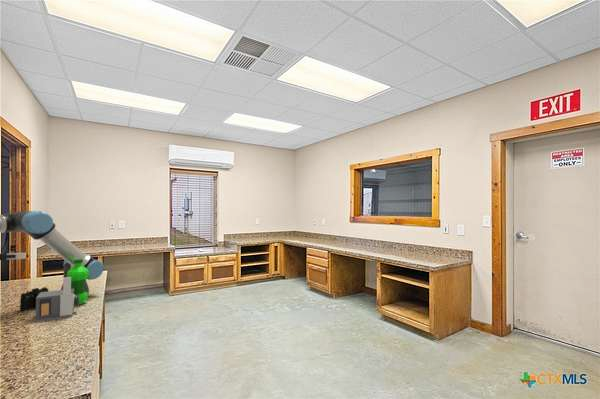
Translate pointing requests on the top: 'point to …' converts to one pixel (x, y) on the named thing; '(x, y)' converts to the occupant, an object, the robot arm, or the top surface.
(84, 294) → the plastic bottle
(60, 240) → the robot arm
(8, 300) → the top surface
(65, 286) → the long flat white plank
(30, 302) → the camera
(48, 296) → the housing
